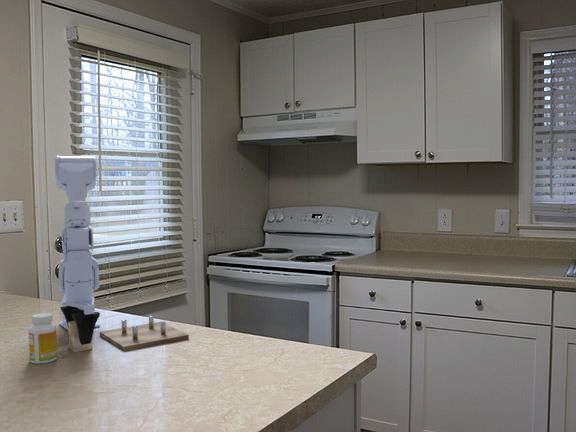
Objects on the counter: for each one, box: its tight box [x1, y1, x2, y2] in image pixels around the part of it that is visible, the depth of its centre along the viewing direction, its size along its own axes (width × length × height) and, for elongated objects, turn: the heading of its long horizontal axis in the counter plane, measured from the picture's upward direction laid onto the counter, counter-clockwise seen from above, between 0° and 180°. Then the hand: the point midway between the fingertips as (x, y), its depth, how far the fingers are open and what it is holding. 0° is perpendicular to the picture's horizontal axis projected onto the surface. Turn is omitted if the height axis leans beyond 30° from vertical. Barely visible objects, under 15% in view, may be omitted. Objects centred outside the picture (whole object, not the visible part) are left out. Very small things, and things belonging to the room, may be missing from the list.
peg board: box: [99, 315, 190, 352], centre depth 141 cm, size 16×16×4 cm
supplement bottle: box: [28, 312, 58, 365], centre depth 123 cm, size 5×5×10 cm
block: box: [68, 321, 93, 353], centre depth 132 cm, size 4×4×6 cm
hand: (80, 339), depth 132 cm, fingers open, 7 cm apart
